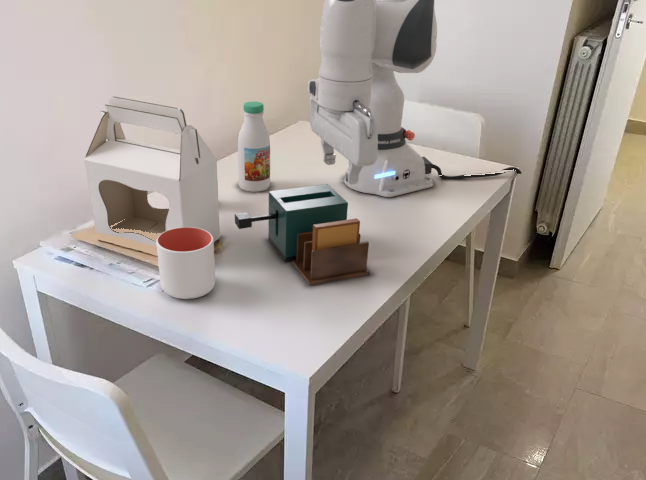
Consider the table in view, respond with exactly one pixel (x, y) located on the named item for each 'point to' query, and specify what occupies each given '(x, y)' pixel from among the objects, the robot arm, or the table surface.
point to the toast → (335, 234)
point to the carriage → (251, 219)
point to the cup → (186, 262)
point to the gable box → (150, 174)
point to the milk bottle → (253, 150)
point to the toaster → (301, 214)
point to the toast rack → (330, 260)
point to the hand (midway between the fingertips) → (340, 172)
